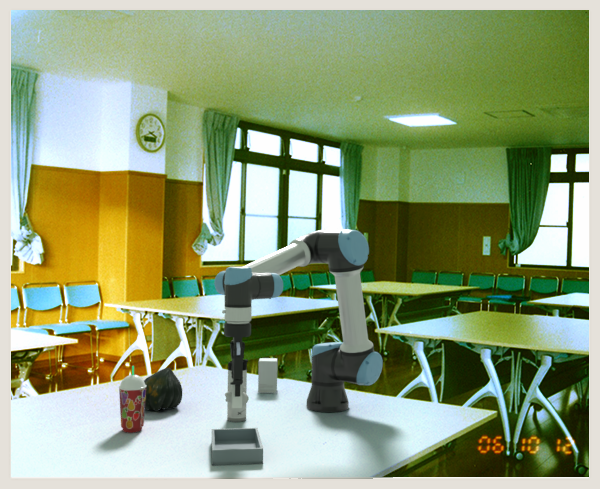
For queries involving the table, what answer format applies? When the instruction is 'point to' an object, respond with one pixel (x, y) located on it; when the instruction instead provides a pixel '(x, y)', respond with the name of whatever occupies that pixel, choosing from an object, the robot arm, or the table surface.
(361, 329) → the robot arm
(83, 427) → the table surface
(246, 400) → the white animal figurine
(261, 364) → the supplement box
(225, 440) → the bin
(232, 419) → the travel mug
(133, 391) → the smoothie
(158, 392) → the squash
